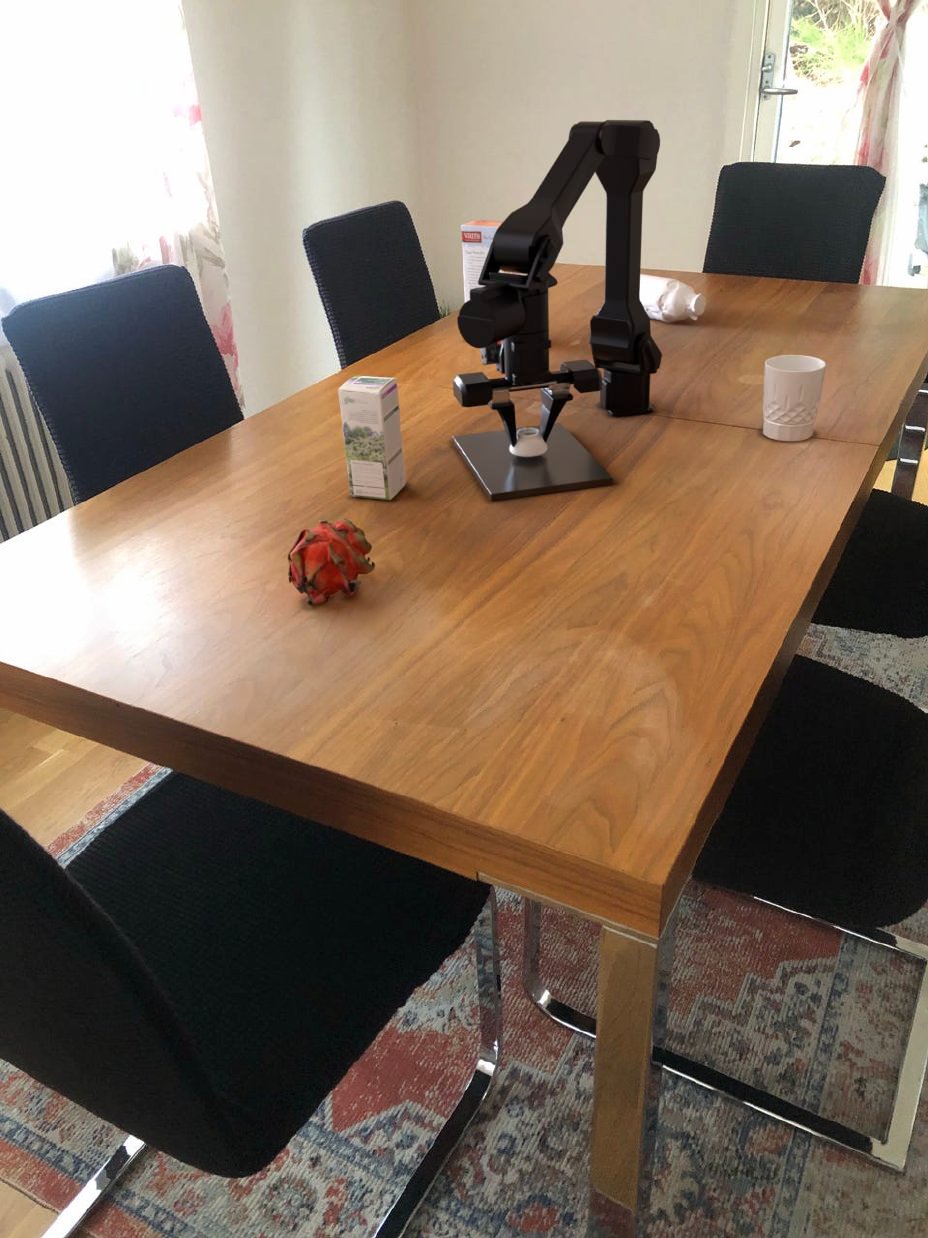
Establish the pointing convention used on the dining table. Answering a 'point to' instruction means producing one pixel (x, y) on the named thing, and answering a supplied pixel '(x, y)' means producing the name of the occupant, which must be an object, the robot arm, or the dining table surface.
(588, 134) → the robot arm
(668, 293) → the white bottle
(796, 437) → the white cup
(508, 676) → the dining table surface
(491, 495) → the serving board
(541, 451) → the lidless jar
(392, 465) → the syrup box
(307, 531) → the dragon fruit
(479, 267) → the cracker box
